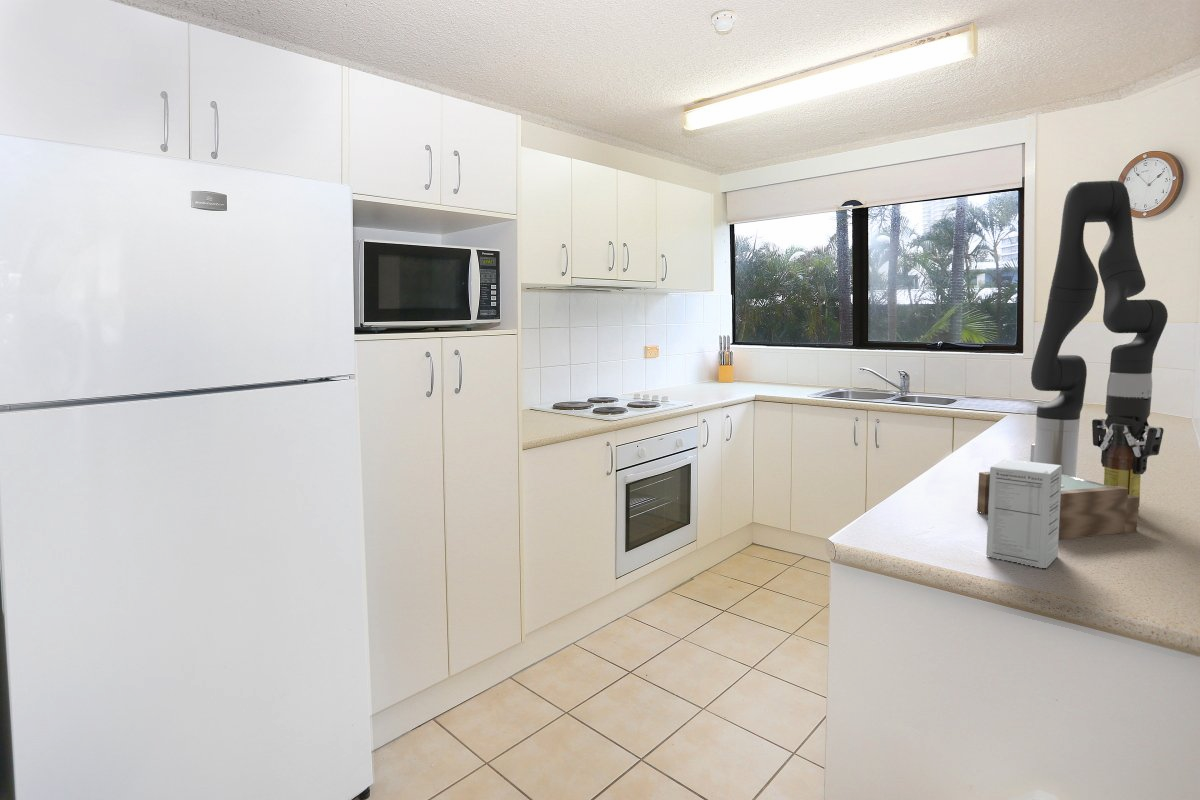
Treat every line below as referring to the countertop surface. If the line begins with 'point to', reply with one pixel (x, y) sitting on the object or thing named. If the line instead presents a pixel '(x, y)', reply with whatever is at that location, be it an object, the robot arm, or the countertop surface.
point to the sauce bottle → (1121, 463)
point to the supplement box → (1024, 512)
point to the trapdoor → (1078, 483)
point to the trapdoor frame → (1084, 509)
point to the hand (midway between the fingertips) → (1122, 470)
